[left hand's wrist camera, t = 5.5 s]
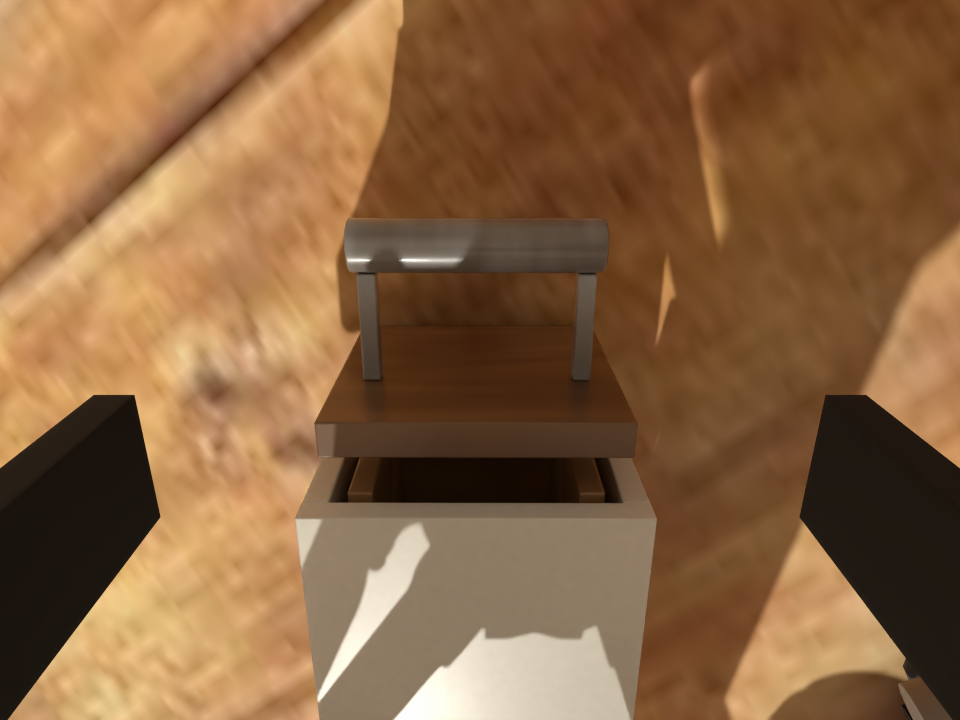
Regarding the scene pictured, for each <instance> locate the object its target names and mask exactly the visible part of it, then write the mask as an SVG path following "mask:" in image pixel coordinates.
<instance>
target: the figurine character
mask: <svg viewBox="0 0 960 720" xmlns="http://www.w3.org/2000/svg"><path fill="white" fill-rule="evenodd" d="M903 667H904V670H905V672H906V674H907V677H908V679H909V680H908V681H905V682H902V683H899V684H898V686H899V690H900V693H901V695H902V698H903V700H904V702H905V704H903V705H902V707H903V710H904V712H905V714H906V716H907V717H908V719H909V720H952V719H951V717H950V716H949V715H948V713H947V712H946V711H945V709H944V708H943V707H942V705H941V704H940V703H939V701H938V700H937V699H936V697H935V696H934V695H933V693H932V692H931V691H930V689H929V688H928V687H927V685H926V684H925V683H924V681H923V680H922V679H921V677H920V676H919V675H918V673H917V672H916V671H915V669H914V668H913V667H912V665H911V664H910V663H909V661H908V660H907V659H906V660H905V663H904V665H903Z"/></svg>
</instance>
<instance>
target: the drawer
mask: <svg viewBox="0 0 960 720" xmlns="http://www.w3.org/2000/svg"><path fill="white" fill-rule="evenodd" d="M344 252H345V260H346V265H347V268H348V270H349V271H350V272H352V273H357V275H356V279H357V293H358V307H359V321H360V335H359V337H358V339H357V341H356V343H355V345H354V347H353V349H352V351H351V352H350V354H349V356H348V358H347V360H346V362H345V364H344V366H343V368H342V370H341V372H340V374H339V376H338V378H337V380H336V382H335V384H334V386H333V388H332V390H331V392H330V394H329V396H328V398H327V400H326V402H325V403H324V405H323V407H322V409H321V411H320V413H319V415H318V417H317V419H316V421H315V423H314V424H315V433H316V443H317V453H318V457H334V458H359V461H358V464H357V467H356V470H355V473H354V476H353V479H352V482H351V485H350V488H349V491H348V503H604V500H605V492H604V489H603V486H602V483H601V480H600V476H599V473H598V470H597V467H596V463H595V460H594V458H634V456H635V447H636V437H637V427H638V423H637V421H636V419H635V417H634V415H633V413H632V411H631V408H630V406H629V404H628V402H627V400H626V398H625V396H624V394H623V392H622V389H621V387H620V385H619V383H618V381H617V379H616V377H615V375H614V373H613V370H612V368H611V366H610V364H609V362H608V360H607V358H606V356H605V354H604V351H603V349H602V347H601V345H600V343H599V341H598V339H597V337H596V335H595V332H594V330H593V329H594V315H595V300H596V285H597V275H596V273H603V272H604V271H605V269H606V266H607V261H608V253H609V230H608V224H607V221H606V219H604V218H349V219H347V222H346V225H345V231H344ZM377 273H576V285H575V303H574V321H573V326H380V309H379V291H378V274H377Z"/></svg>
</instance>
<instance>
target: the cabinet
mask: <svg viewBox="0 0 960 720" xmlns="http://www.w3.org/2000/svg"><path fill="white" fill-rule="evenodd" d="M594 460H595V463H596V467H597V470H598V473H599V476H600V480H601V483H602V486H603V489H604V492H605V500H604V503H348V491H349V488H350V485H351V482H352V479H353V476H354V473H355V470H356V467H357V464H358V461H359V458H334V457H322V459H321V462H320V464H319V466H318V469H317V471H316V473H315V475H314V478H313V480H312V482H311V484H310V487H309V489H308V491H307V494H306V496H305V498H304V500H303V503H302V504H301V506H300V508H299V511H298V513H297V515H296V517H295V522H296V531H297V539H298V547H299V555H300V563H301V571H302V580H303V588H304V596H305V604H306V612H307V620H308V629H309V637H310V645H311V653H312V661H313V670H314V678H315V686H316V694H317V702H318V710H319V719H320V720H633V718H634V709H635V701H636V693H637V684H638V676H639V667H640V659H641V650H642V642H643V633H644V625H645V617H646V608H647V600H648V591H649V583H650V574H651V566H652V558H653V549H654V541H655V532H656V524H657V518H656V516H655V513H654V511H653V508H652V506H651V504H650V502H649V499H648V497H647V494H646V492H645V489H644V487H643V485H642V482H641V480H640V477H639V475H638V472H637V470H636V468H635V465H634V463H633V460H632V458H594Z"/></svg>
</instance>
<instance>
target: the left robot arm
mask: <svg viewBox="0 0 960 720" xmlns="http://www.w3.org/2000/svg"><path fill="white" fill-rule="evenodd" d="M159 518H160V513H159V508H158V503H157V499H156V494H155V489H154V485H153V480H152V475H151V471H150V466H149V461H148V457H147V452H146V447H145V443H144V438H143V433H142V429H141V424H140V419H139V415H138V410H137V405H136V401H135V396H134V395H93V396H92V397H91V398H90V399H88V400H87V401H86V402H84V403H83V404H82V405H81V406H79V407H78V408H77V409H76V410H74V411H73V412H72V413H70V414H69V415H68V416H67V417H65V418H64V419H63V420H61V421H60V422H59V423H58V424H56V425H55V426H54V427H53V428H51V429H50V430H49V431H47V432H46V433H45V434H44V435H42V436H41V437H40V438H38V439H37V440H36V441H35V442H33V443H32V444H31V445H30V446H28V447H27V448H26V449H24V450H23V451H22V452H21V453H19V454H18V455H17V456H15V457H14V458H13V459H12V460H10V461H9V462H8V463H7V464H5V465H4V466H3V467H1V468H0V720H8V719H9V717H10V716H11V715H12V713H13V712H14V711H15V709H16V708H17V707H18V705H19V704H20V703H21V701H22V700H23V699H24V697H25V696H26V695H27V693H28V692H29V691H30V689H31V688H32V687H33V685H34V684H35V683H36V681H37V680H38V679H39V677H40V676H41V675H42V673H43V672H44V671H45V669H46V668H47V667H48V665H49V664H50V663H51V661H52V660H53V659H54V657H55V656H56V655H57V654H58V652H59V651H60V650H61V648H62V647H63V646H64V644H65V643H66V642H67V640H68V639H69V638H70V636H71V635H72V634H73V632H74V631H75V630H76V628H77V627H78V626H79V624H80V623H81V622H82V620H83V619H84V618H85V616H86V615H87V614H88V612H89V611H90V610H91V608H92V607H93V606H94V604H95V603H96V602H97V600H98V599H99V598H100V596H101V595H102V594H103V592H104V591H105V590H106V588H107V587H108V586H109V585H110V583H111V582H112V581H113V579H114V578H115V577H116V575H117V574H118V573H119V571H120V570H121V569H122V567H123V566H124V565H125V563H126V562H127V561H128V559H129V558H130V557H131V555H132V554H133V553H134V551H135V550H136V549H137V547H138V546H139V545H140V543H141V542H142V541H143V539H144V538H145V537H146V535H147V534H148V533H149V531H150V530H151V529H152V527H153V526H154V525H155V523H156V522H157V521H158V520H159ZM800 518H801V520H802V521H803V522H804V523H805V525H806V526H807V527H808V529H809V530H810V531H811V533H812V534H813V535H814V537H815V538H816V539H817V541H818V542H819V543H820V545H821V546H822V547H823V549H824V550H825V551H826V553H827V554H828V555H829V557H830V558H831V559H832V561H833V562H834V563H835V565H836V566H837V567H838V569H839V570H840V571H841V573H842V574H843V575H844V577H845V578H846V579H847V581H848V582H849V583H850V585H851V586H852V587H853V589H854V590H855V591H856V592H857V594H858V595H859V596H860V598H861V599H862V600H863V602H864V603H865V604H866V606H867V607H868V608H869V610H870V611H871V612H872V614H873V615H874V616H875V618H876V619H877V620H878V622H879V623H880V624H881V626H882V627H883V628H884V630H885V631H886V632H887V634H888V635H889V636H890V638H891V639H892V640H893V642H894V643H895V644H896V646H897V647H898V648H899V650H900V651H901V652H902V654H903V655H904V656H905V657H906V659H907V660H908V661H909V663H910V664H911V665H912V667H913V668H914V669H915V671H916V672H917V673H918V675H919V676H920V677H921V679H922V680H923V681H924V683H925V684H926V685H927V687H928V688H929V689H930V691H931V692H932V693H933V695H934V696H935V697H936V699H937V700H938V701H939V703H940V704H941V705H942V707H943V708H944V709H945V711H946V712H947V713H948V715H949V716H950V717H951V719H952V720H960V468H959V467H957V466H956V465H955V464H953V463H952V462H951V461H950V460H948V459H947V458H946V457H945V456H943V455H942V454H941V453H939V452H938V451H937V450H936V449H934V448H933V447H932V446H930V445H929V444H928V443H927V442H925V441H924V440H923V439H922V438H920V437H919V436H918V435H916V434H915V433H914V432H913V431H911V430H910V429H909V428H907V427H906V426H905V425H904V424H902V423H901V422H900V421H899V420H897V419H896V418H895V417H893V416H892V415H891V414H890V413H888V412H887V411H886V410H884V409H883V408H882V407H881V406H879V405H878V404H877V403H876V402H874V401H873V400H872V399H870V398H869V397H868V396H867V395H826V396H825V401H824V405H823V410H822V415H821V419H820V424H819V429H818V433H817V438H816V443H815V447H814V452H813V457H812V461H811V466H810V471H809V475H808V480H807V485H806V489H805V494H804V499H803V503H802V508H801V513H800Z"/></svg>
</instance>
